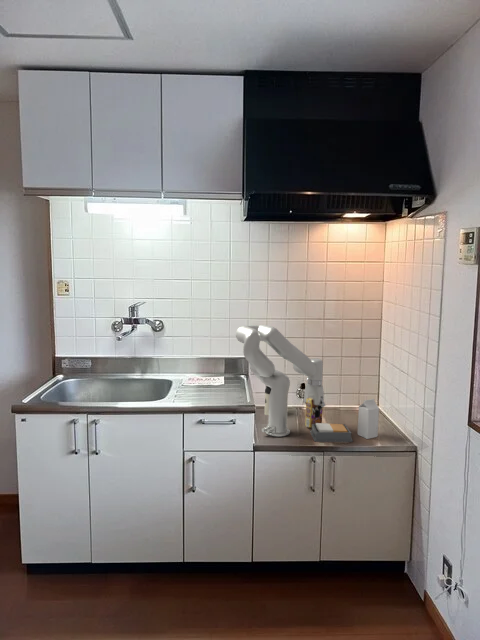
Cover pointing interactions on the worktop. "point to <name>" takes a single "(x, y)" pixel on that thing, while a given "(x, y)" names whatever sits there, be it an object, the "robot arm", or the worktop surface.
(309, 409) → the candy box
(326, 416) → the worktop surface
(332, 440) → the breaker housing
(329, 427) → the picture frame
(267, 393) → the travel mug
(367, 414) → the milk carton
